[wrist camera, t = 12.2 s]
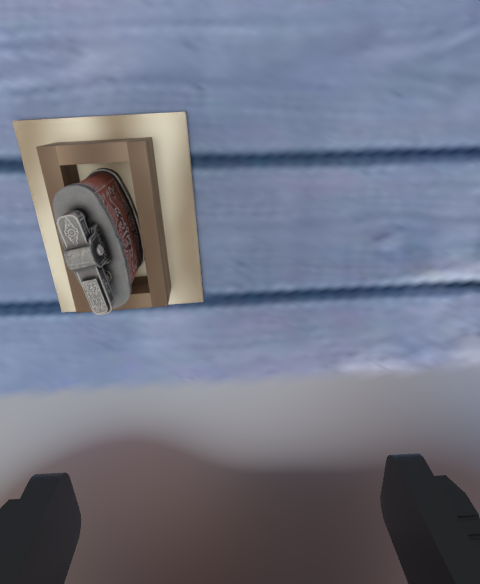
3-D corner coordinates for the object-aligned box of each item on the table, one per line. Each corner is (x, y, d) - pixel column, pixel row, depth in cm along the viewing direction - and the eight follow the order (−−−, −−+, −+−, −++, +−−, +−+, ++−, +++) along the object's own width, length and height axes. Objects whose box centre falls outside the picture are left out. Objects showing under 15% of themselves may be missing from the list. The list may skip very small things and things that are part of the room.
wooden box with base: (186, 111, 30) (182, 112, 26) (203, 295, 36) (202, 321, 32) (19, 120, 29) (-13, 122, 25) (66, 306, 36) (47, 333, 31)
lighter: (77, 173, 30) (20, 201, 21) (122, 163, 30) (85, 187, 21) (113, 272, 33) (78, 333, 24) (153, 263, 33) (133, 321, 24)
